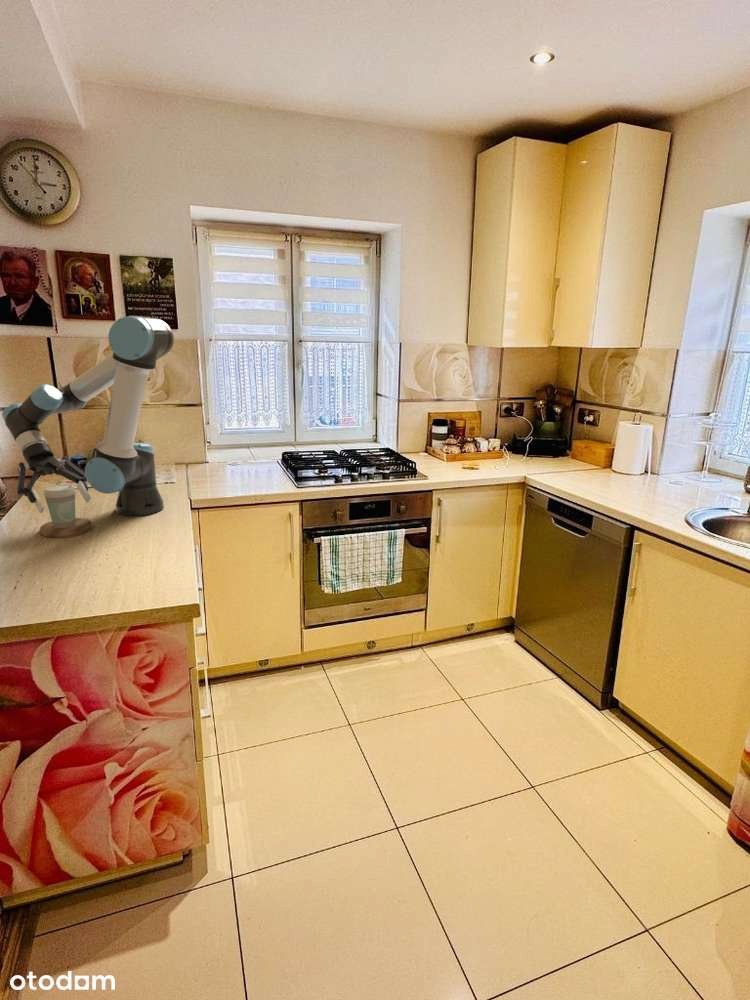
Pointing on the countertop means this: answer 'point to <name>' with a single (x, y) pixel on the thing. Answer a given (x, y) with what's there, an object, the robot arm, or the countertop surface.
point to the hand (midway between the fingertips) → (66, 505)
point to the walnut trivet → (66, 529)
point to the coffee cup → (61, 505)
